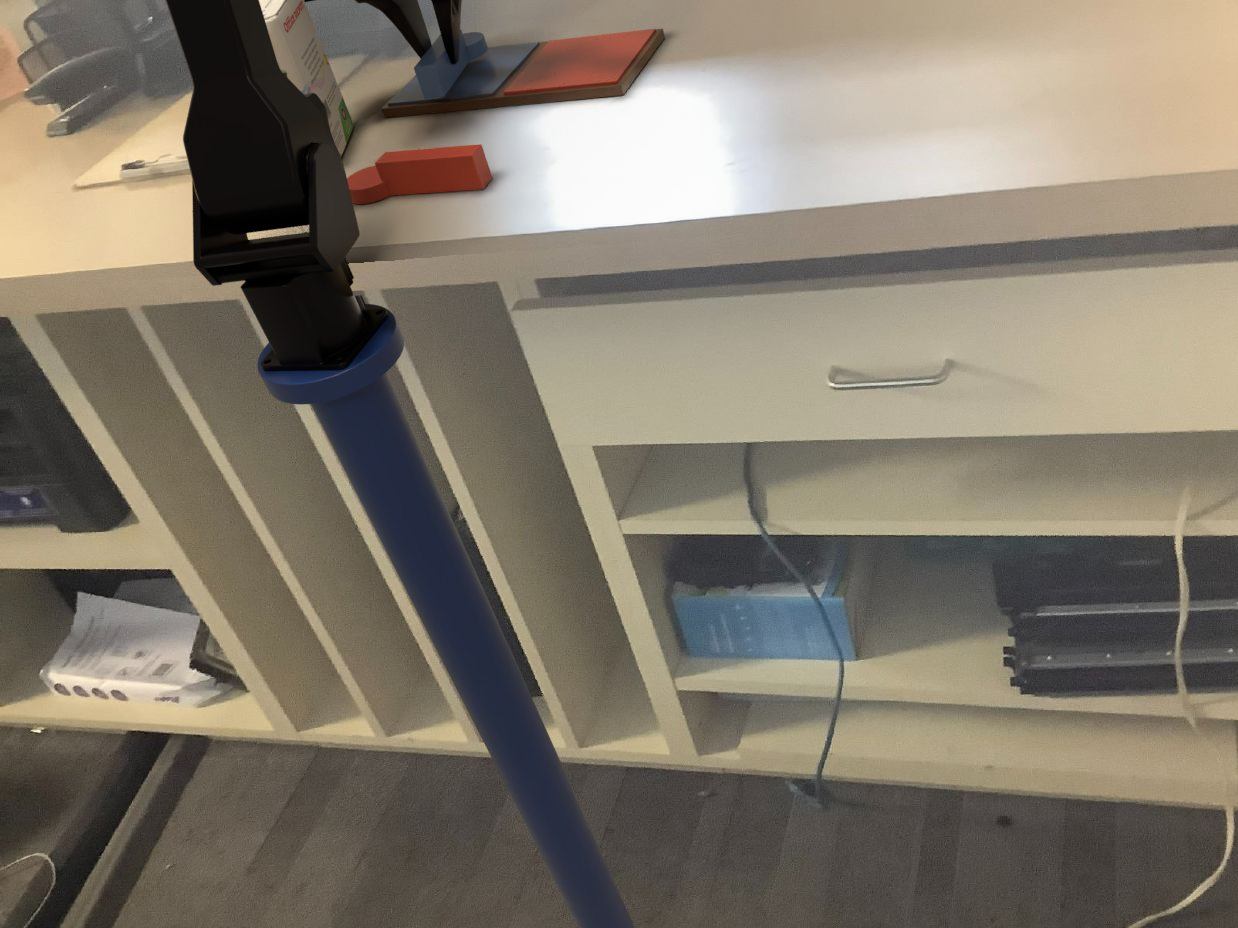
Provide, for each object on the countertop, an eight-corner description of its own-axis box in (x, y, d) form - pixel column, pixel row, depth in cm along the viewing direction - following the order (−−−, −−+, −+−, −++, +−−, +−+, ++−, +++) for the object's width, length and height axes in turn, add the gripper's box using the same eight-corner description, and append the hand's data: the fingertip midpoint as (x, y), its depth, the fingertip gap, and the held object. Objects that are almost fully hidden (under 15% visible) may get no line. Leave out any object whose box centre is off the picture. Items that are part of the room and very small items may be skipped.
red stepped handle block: (498, 170, 84) (487, 136, 82) (477, 196, 81) (465, 162, 79) (364, 180, 87) (351, 148, 86) (340, 205, 85) (325, 173, 83)
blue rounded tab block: (457, 94, 93) (446, 62, 91) (412, 101, 94) (400, 69, 92) (493, 42, 101) (483, 12, 100) (451, 49, 102) (441, 19, 101)
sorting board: (623, 95, 90) (620, 82, 89) (383, 117, 97) (379, 106, 96) (665, 37, 98) (662, 25, 98) (441, 61, 105) (437, 51, 105)
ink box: (301, 138, 97) (238, -5, 90) (356, 125, 97) (298, -20, 89) (280, 180, 91) (211, 30, 83) (340, 167, 90) (275, 14, 83)
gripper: (217, -91, 82) (307, 119, 92) (459, -141, 77) (525, 86, 88) (278, -131, 90) (355, 67, 100) (500, -178, 86) (556, 34, 96)
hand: (443, 64), depth 95 cm, fingers closed on blue rounded tab block, 2 cm apart
